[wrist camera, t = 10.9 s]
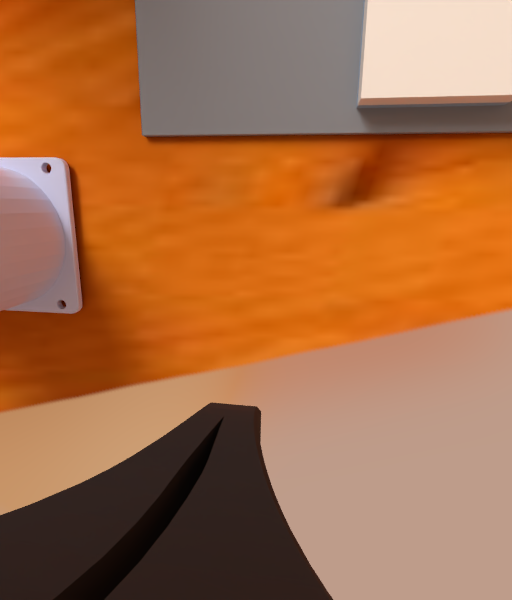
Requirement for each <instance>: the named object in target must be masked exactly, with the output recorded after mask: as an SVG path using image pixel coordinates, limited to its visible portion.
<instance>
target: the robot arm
mask: <svg viewBox="0 0 512 600" xmlns="http://www.w3.org/2000/svg"><path fill="white" fill-rule="evenodd" d="M48 164H50V166H51V171H50V173H48V171H47V165H48ZM62 300H63V301H64V302H65V303H66V307H64V306H63V305H62V303H61V302H62ZM81 308H82V294H81V284H80V274H79V263H78V253H77V243H76V233H75V223H74V212H73V202H72V192H71V182H70V172H69V166H68V164H67V162H66V161H65V160H63V159H60V158H55V157H46V158H0V311H2V310H11V311H30V312H50V313H69V314H73V313H76V312H78V311H80V310H81ZM260 427H261V411H260V410H259V409H258V408H257V407H255V406H243V405H231V404H221V403H210V404H208V405H207V406H205V407H204V408H202V409H201V410H199V411H198V412H197V413H195V414H194V415H193V416H191V417H190V418H189V419H187V420H186V421H184V422H183V423H181V424H180V425H179V426H177V427H176V428H174V429H173V430H172V431H170V432H169V433H167V434H166V435H164V436H163V437H161V438H160V439H158V440H157V441H155V442H154V443H152V444H150V445H149V446H147V447H146V448H144V449H142V450H141V451H140V452H138V453H136V454H135V455H133V456H131V457H130V458H128V459H126V460H125V461H123V462H121V463H119V464H118V465H116V466H114V467H112V468H110V469H108V470H106V471H104V472H102V473H100V474H98V475H96V476H94V477H92V478H90V479H88V480H86V481H84V482H82V483H80V484H78V485H75V486H73V487H71V488H68V489H66V490H64V491H61V492H59V493H56V494H54V495H52V496H49V497H47V498H45V499H43V500H40V501H38V502H35V503H33V504H30V505H28V506H25V507H22V508H20V509H17V510H14V511H11V512H8V513H6V514H3V515H0V600H333V599H332V597H331V596H330V594H329V593H328V592H327V590H326V589H325V587H324V585H323V584H322V582H321V581H320V579H319V578H318V576H317V575H316V573H315V571H314V570H313V568H312V567H311V565H310V564H309V562H308V560H307V558H306V556H305V555H304V553H303V551H302V549H301V547H300V546H299V544H298V542H297V540H296V538H295V537H294V535H293V533H292V531H291V530H290V527H289V525H288V523H287V521H286V519H285V517H284V515H283V512H282V510H281V508H280V506H279V504H278V501H277V499H276V496H275V493H274V491H273V488H272V485H271V482H270V479H269V476H268V473H267V470H266V466H265V463H264V459H263V455H262V450H261V445H260V433H261V432H260V430H261V428H260Z"/></svg>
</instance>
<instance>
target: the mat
mask: <svg viewBox="0 0 512 600" xmlns="http://www.w3.org/2000/svg"><path fill="white" fill-rule="evenodd" d="M363 2H364V0H135V12H136V31H137V49H138V68H139V86H140V105H141V123H142V135H143V136H145V137H167V136H258V135H350V134H441V133H512V101H511V102H509V103H507V104H505V105H496V106H444V107H393V108H356V105H357V90H358V75H359V61H360V46H361V31H362V17H363Z"/></svg>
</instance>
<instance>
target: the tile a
mask: <svg viewBox="0 0 512 600" xmlns="http://www.w3.org/2000/svg"><path fill="white" fill-rule="evenodd" d="M511 101H512V0H364V2H363V17H362V31H361V46H360V61H359V75H358V90H357V105H356V108H393V107H444V106H496V105H505V104H507V103H509V102H511Z"/></svg>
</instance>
